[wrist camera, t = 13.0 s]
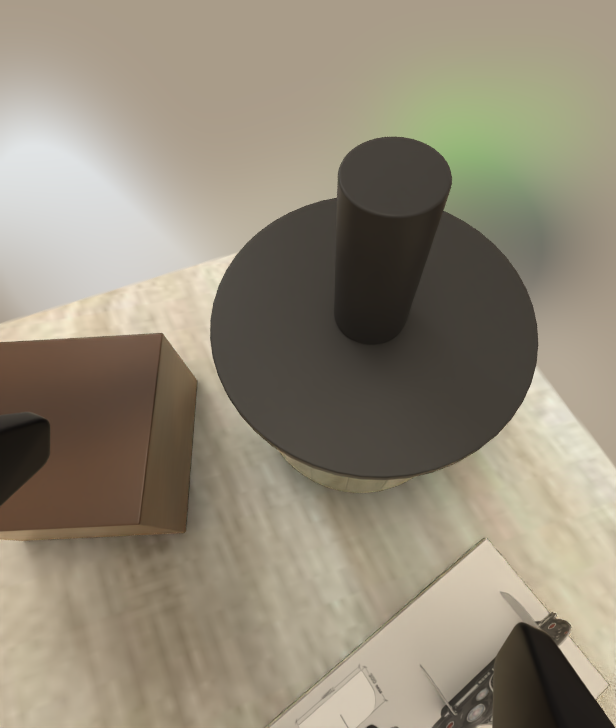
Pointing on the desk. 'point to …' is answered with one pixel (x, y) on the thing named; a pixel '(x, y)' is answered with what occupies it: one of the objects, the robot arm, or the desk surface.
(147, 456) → the block
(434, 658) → the white gadget package
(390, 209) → the lid
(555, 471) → the desk surface
